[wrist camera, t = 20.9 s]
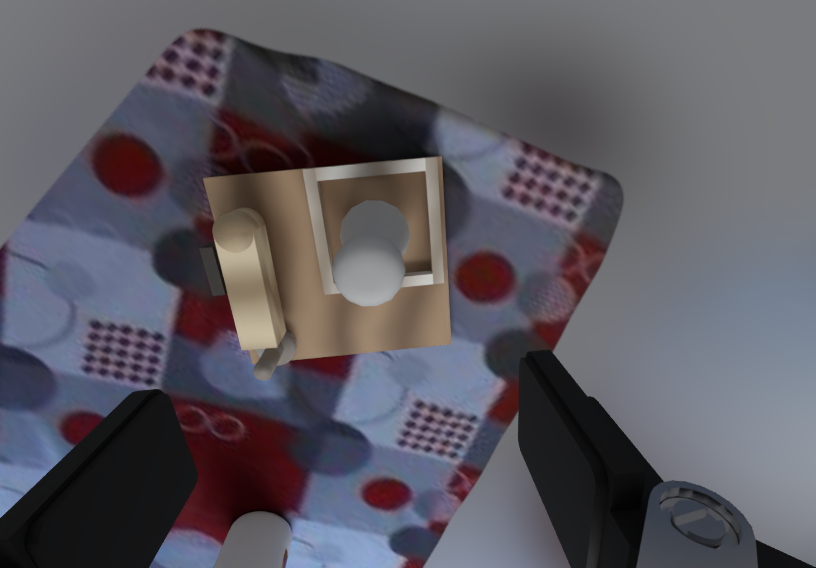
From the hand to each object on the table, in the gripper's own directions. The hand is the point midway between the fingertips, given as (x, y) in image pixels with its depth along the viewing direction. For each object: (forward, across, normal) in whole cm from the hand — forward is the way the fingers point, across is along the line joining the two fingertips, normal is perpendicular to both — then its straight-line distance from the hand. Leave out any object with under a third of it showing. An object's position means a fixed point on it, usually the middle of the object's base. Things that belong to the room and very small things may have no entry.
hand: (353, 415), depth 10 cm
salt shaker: (+25, 0, 0) cm, 25 cm away
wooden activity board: (+26, +4, +4) cm, 27 cm away
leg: (+23, +11, +3) cm, 26 cm away
